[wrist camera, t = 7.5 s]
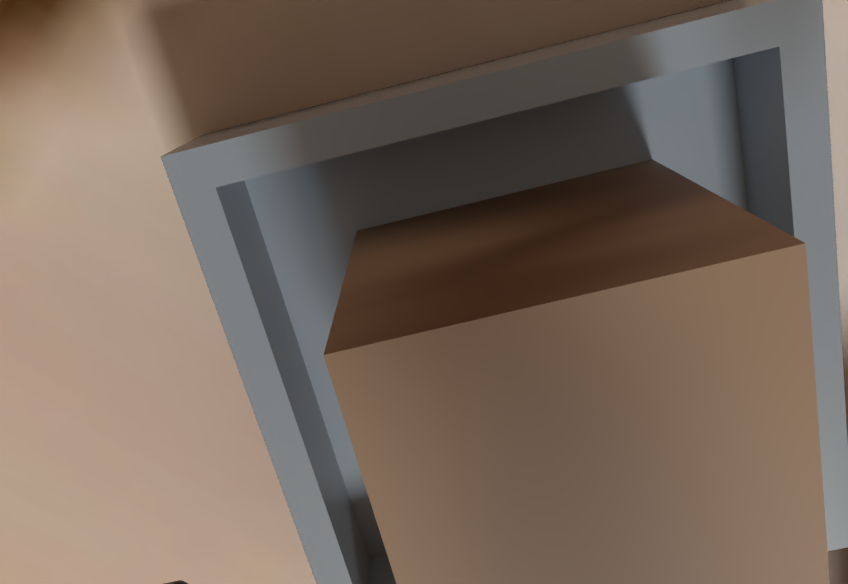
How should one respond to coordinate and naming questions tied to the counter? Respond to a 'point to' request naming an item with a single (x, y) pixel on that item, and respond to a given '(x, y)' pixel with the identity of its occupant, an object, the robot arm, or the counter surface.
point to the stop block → (585, 388)
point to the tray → (491, 177)
